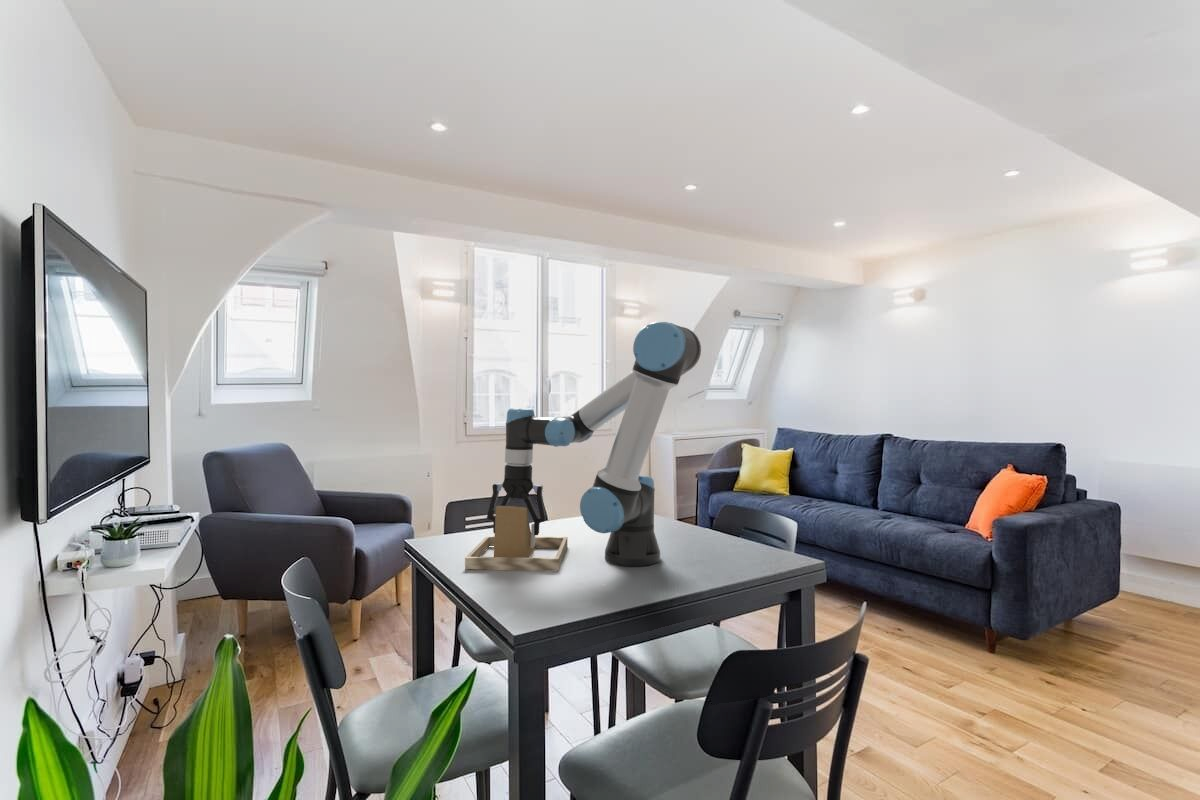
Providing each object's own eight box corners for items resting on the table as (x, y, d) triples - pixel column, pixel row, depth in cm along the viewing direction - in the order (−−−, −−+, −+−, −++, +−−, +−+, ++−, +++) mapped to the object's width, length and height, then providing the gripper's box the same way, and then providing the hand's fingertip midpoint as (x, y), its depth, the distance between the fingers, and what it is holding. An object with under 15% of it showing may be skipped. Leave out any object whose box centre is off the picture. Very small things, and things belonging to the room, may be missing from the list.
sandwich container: (535, 549, 172) (538, 498, 172) (524, 564, 157) (527, 507, 157) (506, 547, 173) (509, 495, 173) (492, 561, 157) (495, 505, 157)
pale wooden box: (567, 547, 174) (567, 537, 174) (558, 570, 150) (558, 559, 150) (486, 546, 175) (486, 536, 175) (465, 569, 151) (465, 557, 151)
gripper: (558, 464, 166) (556, 544, 167) (483, 461, 167) (480, 540, 167) (555, 467, 159) (552, 551, 159) (476, 464, 160) (473, 547, 160)
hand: (515, 545), depth 163 cm, fingers open, 9 cm apart
